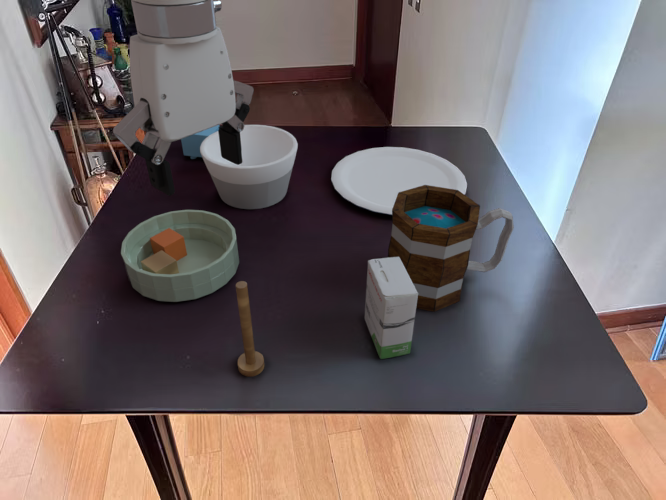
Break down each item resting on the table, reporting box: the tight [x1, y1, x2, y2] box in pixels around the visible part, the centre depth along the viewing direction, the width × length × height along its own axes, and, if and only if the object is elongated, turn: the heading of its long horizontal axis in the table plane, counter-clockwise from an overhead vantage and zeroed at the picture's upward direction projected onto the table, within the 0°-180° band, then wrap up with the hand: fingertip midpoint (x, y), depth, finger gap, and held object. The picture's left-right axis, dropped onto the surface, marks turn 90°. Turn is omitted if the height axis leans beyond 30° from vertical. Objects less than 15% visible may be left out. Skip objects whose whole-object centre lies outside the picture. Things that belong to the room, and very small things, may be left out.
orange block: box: [150, 228, 187, 261], centre depth 88 cm, size 4×4×4 cm
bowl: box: [200, 124, 299, 210], centre depth 105 cm, size 19×19×11 cm
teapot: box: [180, 124, 221, 160], centre depth 119 cm, size 12×6×8 cm, turn 80°
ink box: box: [364, 256, 418, 360], centre depth 73 cm, size 9×5×12 cm, turn 13°
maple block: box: [141, 250, 179, 274], centre depth 83 cm, size 4×4×4 cm
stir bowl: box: [120, 209, 240, 303], centre depth 86 cm, size 18×18×6 cm
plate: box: [330, 146, 468, 216], centre depth 111 cm, size 29×29×2 cm
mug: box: [387, 185, 515, 312], centre depth 82 cm, size 20×14×15 cm
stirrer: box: [235, 280, 265, 378], centre depth 67 cm, size 4×4×15 cm
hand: (199, 175), depth 60 cm, fingers open, 9 cm apart
